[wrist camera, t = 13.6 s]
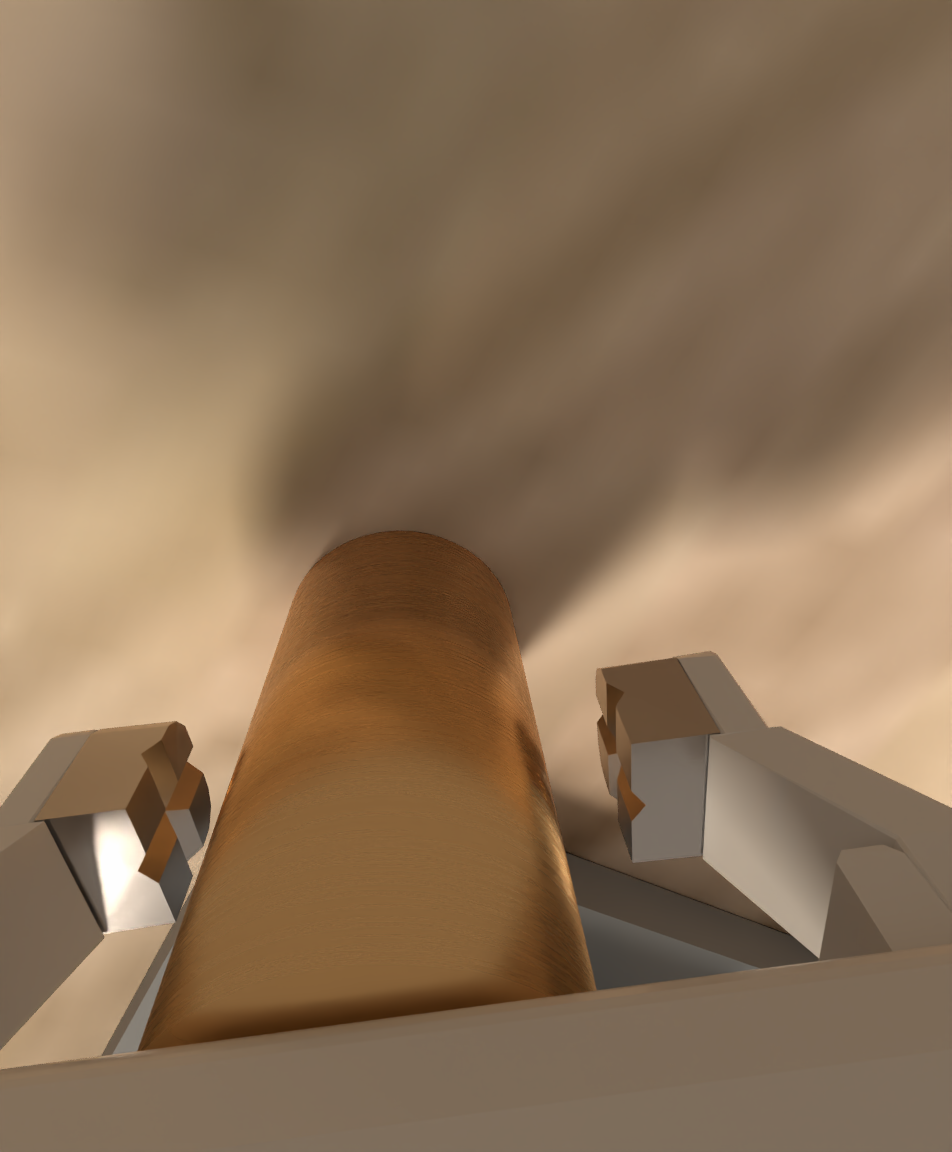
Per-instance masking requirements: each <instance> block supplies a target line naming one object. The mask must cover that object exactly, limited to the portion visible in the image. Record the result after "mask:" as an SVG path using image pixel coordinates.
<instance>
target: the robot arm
mask: <svg viewBox="0 0 952 1152" xmlns="http://www.w3.org/2000/svg"><path fill="white" fill-rule="evenodd" d="M596 697H597V699H598V702H599V705H600V708H601V711H602V713H603V715H602V716H601V718H600V719H599V721H598V722H597V731H598V745H599V752H600V760H601V766H602V770H603V774H604V778H605V781H606V785H607V788H608V791H609V794H610V795H611V796H613V797H614V798H616V799H617V800H618V822H619V825H620V828H621V831H622V833H623V836H624V839H625V842H626V845H627V848H628V851H629V854H630V857H631V860H632V863H637V862H647V861H656V860H666V859H676V858H686V857H695V856H703V860H704V861H706V862H707V863H708V864H709V865H710V866H711V867H713V868H714V869H715V870H716V871H717V872H718V873H720V874H721V875H722V876H723V877H724V878H725V879H727V880H728V881H729V882H730V883H731V884H733V885H734V886H735V887H736V888H737V889H738V890H740V891H741V892H742V893H743V894H744V895H745V896H747V897H748V898H749V899H750V900H751V901H752V902H754V903H755V904H756V905H757V906H758V907H759V908H761V909H762V910H763V911H764V912H765V913H766V914H768V915H769V916H770V917H771V918H772V919H773V920H775V921H776V922H777V923H778V924H779V925H780V926H782V927H783V928H784V929H785V930H786V931H787V932H789V933H790V934H791V935H792V936H793V937H795V938H796V939H797V940H798V941H799V942H800V943H802V944H803V945H804V946H805V947H806V948H807V949H809V950H810V951H811V952H812V953H813V954H814V955H816V956H817V957H818V958H819V961H815V962H808V963H800V964H792V965H785V966H777V967H770V968H762V969H755V970H747V971H740V972H732V973H725V974H717V975H709V976H702V977H694V978H687V979H679V980H672V981H664V982H657V983H649V984H641V985H634V986H626V987H619V988H611V989H604V990H596V991H589V992H581V993H573V994H566V995H558V996H551V997H543V998H536V999H528V1000H521V1001H513V1002H505V1003H498V1004H490V1005H483V1006H475V1007H468V1008H460V1009H453V1010H445V1011H438V1012H430V1013H422V1014H415V1015H407V1016H400V1017H392V1018H385V1019H377V1020H370V1021H362V1022H355V1023H347V1024H340V1025H332V1026H325V1027H317V1028H309V1029H302V1030H294V1031H287V1032H279V1033H272V1034H264V1035H257V1036H249V1037H242V1038H234V1039H227V1040H219V1041H212V1042H204V1043H197V1044H189V1045H181V1046H174V1047H166V1048H159V1049H151V1050H144V1051H136V1052H129V1053H121V1054H114V1055H106V1056H99V1057H91V1058H84V1059H76V1060H68V1061H61V1062H53V1063H46V1064H38V1065H31V1066H23V1067H16V1068H8V1069H1V1070H0V1152H952V808H951V807H948V806H946V805H944V804H942V803H940V802H938V801H936V800H934V799H932V798H930V797H927V796H925V795H923V794H921V793H919V792H917V791H915V790H913V789H911V788H909V787H907V786H904V785H902V784H900V783H898V782H896V781H894V780H892V779H890V778H888V777H886V776H883V775H881V774H879V773H877V772H875V771H873V770H871V769H869V768H867V767H865V766H863V765H860V764H858V763H856V762H854V761H852V760H850V759H848V758H846V757H844V756H842V755H839V754H837V753H835V752H833V751H831V750H829V749H827V748H825V747H823V746H821V745H819V744H816V743H814V742H812V741H810V740H808V739H806V738H804V737H802V736H800V735H798V734H795V733H793V732H791V731H789V730H787V729H785V728H783V727H781V726H780V727H771V728H768V726H767V725H766V723H765V722H764V720H763V719H762V718H761V716H760V715H759V713H758V712H757V710H756V709H755V708H754V706H753V705H752V703H751V702H750V700H749V699H748V698H747V696H746V695H745V693H744V692H743V690H742V689H741V688H740V686H739V685H738V683H737V682H736V680H735V679H734V678H733V676H732V675H731V673H730V672H729V671H728V669H727V668H726V666H725V665H724V663H723V662H722V661H721V659H720V658H719V656H718V655H717V654H716V653H714V652H712V651H707V652H701V653H695V654H688V655H682V656H676V657H673V658H668V659H661V660H654V661H647V662H640V663H633V664H626V665H619V666H612V667H604V668H597V670H596ZM192 748H193V744H192V742H191V739H190V737H189V735H188V732H187V730H186V727H185V726H184V725H182V724H180V723H179V722H177V721H172V722H163V723H154V724H144V725H135V726H125V727H116V728H106V729H100V730H89V731H81V732H73V733H66V734H61V735H59V736H56V737H54V738H52V739H50V741H49V742H48V743H47V745H46V746H45V747H44V749H43V750H42V751H41V753H40V754H39V756H38V757H37V758H36V760H35V761H34V762H33V764H32V765H31V766H30V768H29V769H28V770H27V772H26V773H25V775H24V776H23V777H22V779H21V780H20V781H19V783H18V784H17V785H16V787H15V788H14V789H13V791H12V792H11V794H10V795H9V796H8V798H7V799H6V800H5V802H4V803H3V804H2V806H1V807H0V1050H1V1049H2V1048H3V1047H4V1046H5V1045H6V1043H7V1042H8V1041H9V1040H10V1039H11V1038H12V1037H13V1036H14V1035H15V1034H16V1033H17V1032H18V1030H19V1029H20V1028H21V1027H22V1026H23V1025H24V1024H25V1023H26V1022H27V1021H28V1020H29V1019H30V1018H31V1016H32V1015H33V1014H34V1013H35V1012H36V1011H37V1010H38V1009H39V1008H40V1007H41V1006H42V1005H43V1004H44V1002H45V1001H46V1000H47V999H48V998H49V997H50V996H51V995H52V994H53V993H54V992H55V991H56V990H57V988H58V987H59V986H60V985H61V984H62V983H63V982H64V981H65V980H66V979H67V978H68V977H69V975H70V974H71V973H72V972H73V971H74V970H75V969H76V968H77V967H78V966H79V965H80V964H81V963H82V961H83V960H84V959H85V958H86V957H87V956H88V955H89V954H90V953H91V952H92V951H93V950H94V949H95V947H96V946H97V945H98V944H99V943H100V942H101V941H102V940H103V939H104V935H103V934H107V933H113V932H120V931H126V930H132V929H138V928H145V927H151V926H157V925H164V924H170V923H176V921H177V918H178V915H179V913H180V910H181V907H182V904H183V901H184V899H185V896H186V893H187V890H188V888H189V885H190V882H191V879H192V877H193V875H192V873H191V870H190V868H189V865H188V863H187V861H188V860H189V859H190V858H191V857H192V856H194V855H195V854H196V853H197V852H198V851H199V850H200V849H201V848H202V847H203V846H204V842H205V839H206V836H207V833H208V830H209V824H210V812H211V802H210V796H209V789H208V786H207V783H206V780H205V777H204V774H203V773H202V772H201V771H199V770H198V769H197V768H195V767H194V766H192V765H191V764H190V763H188V762H187V760H188V758H189V755H190V753H191V751H192Z"/></svg>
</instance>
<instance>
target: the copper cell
mask: <svg viewBox="0 0 952 1152" xmlns="http://www.w3.org/2000/svg"><path fill="white" fill-rule="evenodd" d="M596 990H597V989H596V984H595V980H594V976H593V971H592V967H591V962H590V958H589V954H588V949H587V945H586V940H585V936H584V932H583V927H582V923H581V918H580V914H579V910H578V905H577V901H576V896H575V892H574V888H573V883H572V879H571V874H570V870H569V866H568V861H567V857H566V852H565V848H564V844H563V839H562V835H561V830H560V826H559V822H558V817H557V813H556V808H555V804H554V800H553V795H552V791H551V786H550V782H549V778H548V773H547V769H546V764H545V760H544V756H543V751H542V747H541V742H540V738H539V733H538V729H537V725H536V720H535V716H534V711H533V707H532V703H531V698H530V694H529V689H528V685H527V681H526V676H525V672H524V667H523V663H522V659H521V654H520V650H519V645H518V641H517V637H516V632H515V628H514V623H513V619H512V615H511V610H510V606H509V602H508V600H507V597H506V594H505V592H504V590H503V588H502V586H501V585H500V583H499V581H498V579H497V578H496V577H495V575H494V574H493V573H492V572H491V570H490V569H489V568H488V567H487V566H486V565H485V564H484V563H483V562H482V561H481V560H480V559H479V558H477V557H476V556H475V555H473V554H472V553H471V552H469V551H468V550H466V549H464V548H463V547H461V546H459V545H457V544H456V543H453V542H451V541H448V540H446V539H444V538H441V537H437V536H434V535H430V534H426V533H419V532H413V531H389V532H379V533H375V534H370V535H366V536H362V537H360V538H357V539H354V540H351V541H349V542H347V543H345V544H343V545H341V546H339V547H337V548H336V549H334V550H333V551H331V552H330V553H328V554H327V555H325V556H324V557H323V558H322V559H321V560H320V561H319V562H317V563H316V564H315V565H314V566H313V568H312V569H311V570H310V571H309V572H308V574H307V575H306V576H305V578H304V579H303V581H302V582H301V584H300V586H299V587H298V590H297V592H296V594H295V597H294V599H293V602H292V605H291V608H290V611H289V614H288V616H287V619H286V622H285V625H284V628H283V631H282V634H281V637H280V640H279V642H278V645H277V648H276V651H275V654H274V657H273V660H272V663H271V666H270V668H269V671H268V674H267V677H266V680H265V683H264V686H263V689H262V692H261V695H260V697H259V700H258V703H257V706H256V709H255V712H254V715H253V718H252V721H251V723H250V726H249V729H248V732H247V735H246V738H245V741H244V744H243V747H242V750H241V752H240V755H239V758H238V761H237V764H236V767H235V770H234V773H233V776H232V778H231V781H230V784H229V787H228V790H227V793H226V796H225V799H224V802H223V805H222V807H221V810H220V813H219V816H218V819H217V822H216V825H215V828H214V831H213V833H212V836H211V839H210V842H209V845H208V848H207V851H206V854H205V857H204V859H203V862H202V865H201V868H200V871H199V874H198V877H197V880H196V883H195V886H194V888H193V891H192V894H191V897H190V900H189V903H188V906H187V909H186V912H185V914H184V917H183V920H182V923H181V926H180V929H179V932H178V935H177V938H176V941H175V943H174V946H173V949H172V952H171V955H170V958H169V961H168V964H167V967H166V969H165V972H164V975H163V978H162V981H161V984H160V987H159V990H158V993H157V996H156V998H155V1001H154V1004H153V1007H152V1010H151V1013H150V1016H149V1019H148V1022H147V1024H146V1027H145V1030H144V1033H143V1036H142V1039H141V1042H140V1045H139V1048H138V1050H137V1051H144V1050H151V1049H159V1048H166V1047H174V1046H181V1045H189V1044H197V1043H204V1042H212V1041H219V1040H227V1039H234V1038H242V1037H249V1036H257V1035H264V1034H272V1033H279V1032H287V1031H294V1030H302V1029H309V1028H317V1027H325V1026H332V1025H340V1024H347V1023H355V1022H362V1021H370V1020H377V1019H385V1018H392V1017H400V1016H407V1015H415V1014H422V1013H430V1012H438V1011H445V1010H453V1009H460V1008H468V1007H475V1006H483V1005H490V1004H498V1003H505V1002H513V1001H521V1000H528V999H536V998H543V997H551V996H558V995H566V994H573V993H581V992H589V991H596Z"/></svg>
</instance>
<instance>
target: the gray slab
mask: <svg viewBox="0 0 952 1152" xmlns="http://www.w3.org/2000/svg"><path fill="white" fill-rule="evenodd" d="M566 857H567V861H568V866H569V870H570V874H571V879H572V883H573V888H574V892H575V896H576V901H577V905H578V910H579V914H580V918H581V923H582V927H583V932H584V936H585V940H586V945H587V949H588V954H589V958H590V962H591V967H592V971H593V976H594V980H595V984H596V989H597V990H604V989H611V988H619V987H626V986H634V985H641V984H649V983H657V982H664V981H672V980H679V979H687V978H694V977H702V976H709V975H717V974H725V973H732V972H740V971H747V970H755V969H762V968H770V967H777V966H785V965H792V964H800V963H808V962H815V961H819V958H818V957H817V956H816V955H814V954H813V953H812V952H811V951H810V950H809V949H807V948H806V947H805V946H804V945H803V944H802V943H800V942H799V941H798V940H797V939H796V938H795V937H792V936H790V935H787V934H784V933H782V932H779V931H776V930H773V929H771V928H768V927H765V926H763V925H760V924H757V923H755V922H752V921H749V920H746V919H744V918H741V917H738V916H736V915H733V914H730V913H728V912H725V911H722V910H719V909H717V908H714V907H711V906H709V905H706V904H703V903H701V902H698V901H695V900H692V899H690V898H687V897H684V896H682V895H679V894H676V893H674V892H671V891H668V890H665V889H663V888H660V887H657V886H655V885H652V884H649V883H647V882H644V881H641V880H638V879H636V878H633V877H630V876H628V875H625V874H622V873H620V872H617V871H614V870H611V869H609V868H606V867H603V866H601V865H598V864H595V863H592V862H590V861H587V860H584V859H582V858H579V857H576V856H574V855H571V854H568V853H566ZM193 888H194V887H193ZM192 891H193V889H192ZM192 891H191V893H190V895H189V896H188V898H187V900H186V902H185V904H184V906H183V907H182V909H181V911H180V913H179V915H178V918H177V921H176V923H174V924H173V926H172V928H171V929H170V931H169V933H168V935H167V937H166V939H165V940H164V942H163V944H162V946H161V948H160V950H159V951H158V953H157V955H156V957H155V959H154V961H153V962H152V964H151V966H150V968H149V970H148V972H147V973H146V975H145V977H144V979H143V981H142V983H141V984H140V986H139V988H138V990H137V992H136V993H135V995H134V997H133V999H132V1001H131V1003H130V1004H129V1006H128V1008H127V1010H126V1012H125V1014H124V1015H123V1017H122V1019H121V1021H120V1023H119V1025H118V1026H117V1028H116V1030H115V1032H114V1034H113V1036H112V1037H111V1039H110V1041H109V1043H108V1045H107V1047H106V1048H105V1050H104V1052H103V1054H102V1056H106V1055H114V1054H121V1053H129V1052H136V1051H137V1050H138V1048H139V1045H140V1042H141V1039H142V1036H143V1033H144V1030H145V1027H146V1024H147V1022H148V1019H149V1016H150V1013H151V1010H152V1007H153V1004H154V1001H155V998H156V996H157V993H158V990H159V987H160V984H161V981H162V978H163V975H164V972H165V969H166V967H167V964H168V961H169V958H170V955H171V952H172V949H173V946H174V943H175V941H176V938H177V935H178V932H179V929H180V926H181V923H182V920H183V917H184V914H185V912H186V909H187V906H188V903H189V900H190V897H191V894H192Z"/></svg>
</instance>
